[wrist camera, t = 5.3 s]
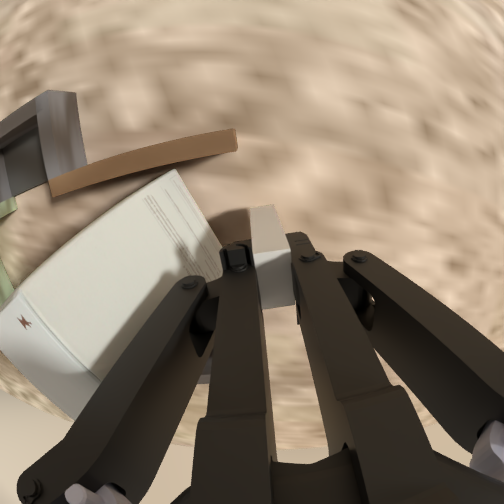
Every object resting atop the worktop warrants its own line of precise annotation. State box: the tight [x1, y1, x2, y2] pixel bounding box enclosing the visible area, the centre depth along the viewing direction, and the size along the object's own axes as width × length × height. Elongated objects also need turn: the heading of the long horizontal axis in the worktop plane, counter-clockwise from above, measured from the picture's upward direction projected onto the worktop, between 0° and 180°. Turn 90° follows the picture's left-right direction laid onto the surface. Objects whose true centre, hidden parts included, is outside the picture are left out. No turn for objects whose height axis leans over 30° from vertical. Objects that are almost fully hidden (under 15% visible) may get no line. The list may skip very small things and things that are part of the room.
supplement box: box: [0, 169, 223, 421], centre depth 13 cm, size 7×7×13 cm
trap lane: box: [0, 90, 238, 384], centre depth 18 cm, size 24×27×4 cm
